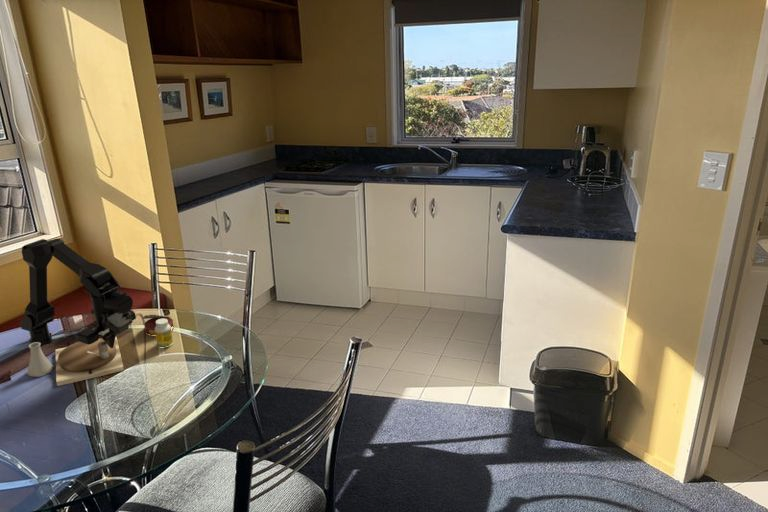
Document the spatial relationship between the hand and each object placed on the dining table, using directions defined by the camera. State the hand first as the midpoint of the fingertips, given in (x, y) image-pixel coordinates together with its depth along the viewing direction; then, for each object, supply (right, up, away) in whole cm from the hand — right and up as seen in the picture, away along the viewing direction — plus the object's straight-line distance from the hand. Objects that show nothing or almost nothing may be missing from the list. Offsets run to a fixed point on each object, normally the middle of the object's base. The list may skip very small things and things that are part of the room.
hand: (111, 347), depth 182 cm
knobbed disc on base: (-8, -3, +1) cm, 9 cm away
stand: (-8, -5, +2) cm, 10 cm away
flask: (-21, -7, -4) cm, 23 cm away
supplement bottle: (+12, -1, +13) cm, 18 cm away
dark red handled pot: (+7, +3, +23) cm, 24 cm away
